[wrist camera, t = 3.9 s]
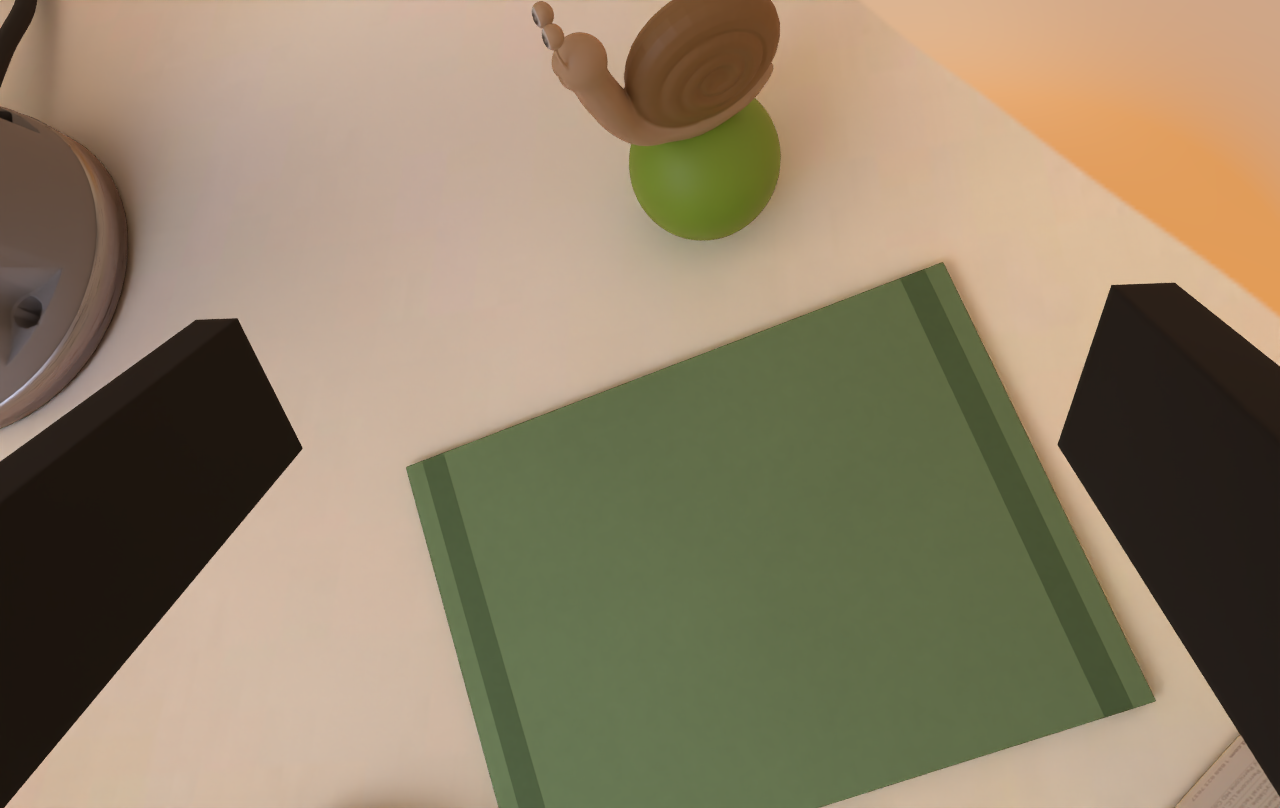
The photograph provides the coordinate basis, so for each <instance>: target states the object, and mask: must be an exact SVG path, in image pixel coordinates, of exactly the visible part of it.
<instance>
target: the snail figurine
mask: <svg viewBox="0 0 1280 808" xmlns="http://www.w3.org/2000/svg"><path fill="white" fill-rule="evenodd" d="M532 17H533V20H534V22H535V23H536V25H537V26H538V27H540V28H543V30H542V38H543V41H544V44H545V45H546V47H547V48H548V49H550V50H554V53H553V56H552V68H553V71H554V73H555V74H556V75H557V76H558V77H559V80H560V82H561V83H562V85H563V86H564V87H566V88H567V89H569V90H571V91H573V92H574V93H575V94H576V96H577V97H578V99H579V100H580V102H581V103H582V105H583V106H584V107H585V108H586V109H587V111H588V112H589V113H590V114H591V115H592V116H593V117H594V118H595V119H596V120H597V122H598V123H599V124H600V125H601V126H602V127H604V128H605V129H606V130H607V131H608V132H610V133H611V134H613V135H614V136H616V137H617V138H619V139H621V140H623V141H625V142H628V143H630V144H631V148H630V155H629V170H630V178H631V183H632V186H633V190H634V192H635V195H636V197H637V199H638V201H639V203H640V205H641V206H642V208H643V209H644V211H645V212H646V213H647V215H648V216H649V217H650V218H651V219H652V220H653V221H654V222H655V223H656V224H658V225H659V226H660V227H662V228H663V229H665V230H666V231H668V232H670V233H672V234H674V235H676V236H679V237H682V238H686V239H691V240H714V239H719V238H723V237H726V236H729V235H731V234H733V233H735V232H737V231H739V230H741V229H742V228H744V227H745V226H747V225H748V224H749V223H751V222H752V221H753V220H754V219H755V218H756V217H757V216H758V215H759V214H760V213H761V211H762V210H763V209H764V207H765V206H766V205H767V203H768V201H769V200H770V198H771V196H772V194H773V192H774V189H775V186H776V184H777V180H778V176H779V171H780V161H781V154H780V144H779V139H778V135H777V132H776V129H775V126H774V124H773V122H772V120H771V118H770V116H769V114H768V113H767V111H766V110H765V109H764V107H763V106H762V105H761V104H760V103H759V102H758V101H757V100H756V99H755V97H756V96H757V94H758V93H759V92H760V91H761V89H762V88H763V87H764V85H765V84H766V82H767V81H768V79H769V77H770V76H771V73H772V71H773V64H772V63H771V62H772V60H773V58H774V56H775V53H776V50H777V46H778V42H779V37H780V22H779V18H778V14H777V11H776V8H775V6H774V4H773V3H772V1H771V0H672V1H671V2H669V3H668V4H666V5H665V6H664V7H663V8H661V9H660V10H659V11H658V12H657V13H656V14H655V15H654V16H653V17H652V18H651V19H650V20H649V21H648V22H647V24H646V25H645V26H644V27H643V28H642V30H641V31H640V32H639V34H638V36H637V37H636V39H635V41H634V42H633V44H632V46H631V49H630V52H629V54H628V57H627V61H626V65H625V73H624V81H625V88H624V89H623V88H622V87H621V86H620V85H619V83H618V82H617V81H616V80H615V79H614V77H613V76H612V75H611V74H610V72H609V71H608V69H607V54H606V50H605V48H604V46H603V45H602V43H601V42H600V41H599V40H598V39H597V38H596V37H594V36H592V35H590V34H587V33H581V32H578V33H572V34H570V35H568V36H566V37H564V33H563V31H562V29H561V28H560V27H559V26H558V25H556V24H552V22H553V19H554V13H553V9H552V8H551V6H550V5H549V4H548V3H546V2H543V1H540V2H537V3H535V4H534V5H533V7H532Z"/></svg>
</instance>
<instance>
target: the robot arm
mask: <svg viewBox="0 0 1280 808" xmlns="http://www.w3.org/2000/svg"><path fill="white" fill-rule="evenodd" d="M36 5H37V0H15V3H14V5H13V7H12V10H11V11H10V13H9V15H8V17H7V18H6V20H5V22H4V23H3V25H2V27H1V28H0V87H1V84H2V82H3V79H4V76H5V74H6V71H7V68H8V66H9V63H10V61H11V58H12V56H13V53H14V51H15V49H16V47H17V45H18V44H19V42H20V40H21V38H22V37H23V35H24V33H25V32H26V30H27V28H28V26H29V24H30V23H31V20H32V18H33V16H34V13H35V9H36ZM127 254H128V234H127V224H126V217H125V212H124V208H123V204H122V201H121V198H120V195H119V192H118V190H117V188H116V186H115V184H114V182H113V180H112V178H111V176H110V175H109V173H108V171H107V170H106V168H105V167H104V166H103V165H102V163H101V162H100V161H99V160H98V159H97V158H96V157H95V156H94V155H93V154H92V153H91V152H90V151H89V150H88V149H87V148H85V147H84V146H82V145H81V144H79V143H78V142H76V141H75V140H73V139H71V138H69V137H68V136H66V135H64V134H62V133H60V132H59V131H57V130H55V129H53V128H52V127H50V126H48V125H46V124H44V123H42V122H40V121H39V120H37V119H34V118H32V117H29V116H26V115H24V114H21V113H18V112H16V111H13V110H10V109H7V108H4V107H0V428H2V427H5V426H8V425H10V424H12V423H14V422H16V421H18V420H20V419H22V418H24V417H25V416H27V415H29V414H31V413H32V412H34V411H35V410H37V409H38V408H40V407H41V406H43V405H44V404H45V403H47V402H48V401H49V400H50V399H52V398H53V397H54V396H55V395H56V394H58V393H59V392H60V391H61V390H62V389H63V388H64V387H65V386H66V385H67V384H68V383H69V382H70V381H71V380H72V379H73V378H74V377H75V375H76V374H77V373H78V372H79V371H80V370H81V368H82V367H83V366H84V365H85V363H86V362H87V360H88V359H89V358H90V356H91V355H92V354H93V352H94V350H95V349H96V347H97V346H98V344H99V342H100V341H101V339H102V337H103V335H104V333H105V331H106V329H107V327H108V325H109V323H110V321H111V319H112V316H113V314H114V312H115V309H116V307H117V303H118V300H119V297H120V294H121V291H122V286H123V282H124V278H125V272H126V265H127ZM1058 446H1059V448H1060V449H1061V451H1062V453H1063V454H1064V456H1065V457H1066V459H1067V461H1068V462H1069V464H1070V465H1071V467H1072V468H1073V470H1074V472H1075V473H1076V475H1077V476H1078V478H1079V480H1080V481H1081V483H1082V484H1083V486H1084V487H1085V489H1086V491H1087V492H1088V494H1089V495H1090V497H1091V499H1092V500H1093V502H1094V503H1095V505H1096V507H1097V508H1098V510H1099V511H1100V513H1101V514H1102V516H1103V518H1104V519H1105V521H1106V522H1107V524H1108V526H1109V527H1110V529H1111V530H1112V532H1113V533H1114V535H1115V537H1116V538H1117V540H1118V541H1119V543H1120V545H1121V546H1122V548H1123V549H1124V551H1125V553H1126V554H1127V556H1128V557H1129V559H1130V560H1131V562H1132V564H1133V565H1134V567H1135V568H1136V570H1137V572H1138V573H1139V575H1140V576H1141V578H1142V579H1143V581H1144V583H1145V584H1146V586H1147V587H1148V589H1149V591H1150V592H1151V594H1152V595H1153V597H1154V599H1155V600H1156V602H1157V603H1158V605H1159V606H1160V608H1161V610H1162V611H1163V613H1164V614H1165V616H1166V618H1167V619H1168V621H1169V622H1170V624H1171V625H1172V627H1173V629H1174V630H1175V632H1176V633H1177V635H1178V637H1179V638H1180V640H1181V641H1182V643H1183V645H1184V646H1185V648H1186V649H1187V651H1188V652H1189V654H1190V656H1191V657H1192V659H1193V660H1194V662H1195V664H1196V665H1197V667H1198V668H1199V670H1200V671H1201V673H1202V675H1203V676H1204V678H1205V679H1206V681H1207V683H1208V684H1209V686H1210V687H1211V689H1212V691H1213V692H1214V694H1215V695H1216V697H1217V698H1218V700H1219V702H1220V703H1221V705H1222V706H1223V708H1224V710H1225V711H1226V713H1227V714H1228V716H1229V717H1230V719H1231V721H1232V722H1233V724H1234V725H1235V727H1236V729H1237V730H1238V732H1239V733H1240V735H1241V737H1242V738H1243V740H1244V741H1245V743H1246V744H1247V746H1248V748H1249V749H1250V751H1251V752H1252V754H1253V756H1254V757H1255V759H1256V760H1257V762H1258V763H1259V765H1260V767H1261V768H1262V770H1263V771H1264V773H1265V775H1266V776H1267V778H1268V779H1269V781H1270V783H1271V784H1272V786H1273V787H1274V789H1275V790H1276V792H1277V794H1278V795H1279V797H1280V366H1278V365H1277V364H1276V363H1275V362H1273V361H1272V360H1271V359H1270V358H1268V357H1267V356H1266V355H1265V354H1263V353H1262V352H1261V351H1260V350H1258V349H1257V348H1256V347H1255V346H1253V345H1252V344H1251V343H1250V342H1248V341H1247V340H1246V339H1245V338H1243V337H1242V336H1241V335H1240V334H1238V333H1237V332H1236V331H1235V330H1233V329H1232V328H1231V327H1230V326H1228V325H1227V324H1226V323H1225V322H1223V321H1222V320H1221V319H1220V318H1218V317H1217V316H1216V315H1214V314H1213V313H1212V312H1211V311H1209V310H1208V309H1207V308H1206V307H1204V306H1203V305H1202V304H1201V303H1199V302H1198V301H1197V300H1196V299H1194V298H1193V297H1192V296H1191V295H1189V294H1188V293H1187V292H1186V291H1184V290H1183V289H1182V288H1181V287H1179V286H1178V285H1177V284H1176V283H1154V284H1128V285H1111V288H1110V291H1109V294H1108V297H1107V300H1106V303H1105V306H1104V309H1103V312H1102V315H1101V318H1100V321H1099V324H1098V327H1097V329H1096V332H1095V335H1094V338H1093V341H1092V344H1091V347H1090V350H1089V353H1088V356H1087V359H1086V362H1085V365H1084V368H1083V371H1082V374H1081V377H1080V380H1079V383H1078V386H1077V389H1076V392H1075V395H1074V398H1073V401H1072V404H1071V407H1070V410H1069V412H1068V415H1067V418H1066V421H1065V424H1064V427H1063V430H1062V433H1061V436H1060V439H1059V442H1058ZM302 449H303V448H302V446H301V444H300V442H299V440H298V438H297V436H296V434H295V432H294V430H293V428H292V426H291V424H290V422H289V420H288V418H287V416H286V414H285V412H284V410H283V408H282V406H281V404H280V402H279V400H278V398H277V396H276V394H275V392H274V390H273V388H272V386H271V384H270V382H269V380H268V378H267V376H266V374H265V372H264V370H263V368H262V366H261V364H260V362H259V361H258V359H257V357H256V355H255V353H254V351H253V349H252V347H251V345H250V343H249V341H248V339H247V337H246V335H245V333H244V331H243V329H242V327H241V325H240V323H239V321H238V319H237V318H234V319H208V320H195V321H194V322H192V323H191V324H190V325H188V326H187V327H186V328H184V329H183V330H181V331H180V332H179V333H177V334H176V335H175V336H173V337H172V338H170V339H169V340H168V341H166V342H165V343H163V344H162V345H161V346H159V347H158V348H157V349H155V350H154V351H152V352H151V353H150V354H148V355H147V356H146V357H144V358H143V359H141V360H140V361H139V362H137V363H136V364H134V365H133V366H132V367H130V368H129V369H128V370H126V371H125V372H123V373H122V374H121V375H119V376H118V377H117V378H115V379H114V380H112V381H111V382H110V383H108V384H107V385H105V386H104V387H103V388H101V389H100V390H99V391H97V392H96V393H94V394H93V395H92V396H90V397H89V398H88V399H86V400H85V401H83V402H82V403H81V404H79V405H78V406H77V407H75V408H74V409H72V410H71V411H70V412H68V413H67V414H65V415H64V416H63V417H61V418H60V419H59V420H57V421H56V422H54V423H53V424H52V425H50V426H49V427H48V428H46V429H45V430H43V431H42V432H41V433H39V434H38V435H36V436H35V437H34V438H32V439H31V440H30V441H28V442H27V443H25V444H24V445H23V446H21V447H20V448H19V449H17V450H16V451H14V452H13V453H12V454H10V455H9V456H7V457H6V458H5V459H3V460H2V461H1V462H0V808H4V807H5V806H6V805H7V803H8V802H9V801H10V800H11V799H12V797H13V796H14V795H15V794H16V793H17V791H18V790H19V789H20V788H21V787H22V785H23V784H24V783H25V782H26V781H27V779H28V778H29V777H30V776H31V775H32V773H33V772H34V771H35V770H36V769H37V767H38V766H39V765H40V764H41V763H42V761H43V760H44V759H45V758H46V757H47V755H48V754H49V753H50V752H51V751H52V749H53V748H54V747H55V746H56V745H57V743H58V742H59V741H60V740H61V739H62V737H63V736H64V735H65V734H66V733H67V731H68V730H69V729H70V728H71V727H72V725H73V724H74V723H75V722H76V721H77V719H78V718H79V717H80V716H81V714H82V713H83V712H84V711H85V710H86V708H87V707H88V706H89V705H90V704H91V702H92V701H93V700H94V699H95V698H96V696H97V695H98V694H99V693H100V692H101V690H102V689H103V688H104V687H105V686H106V684H107V683H108V682H109V681H110V680H111V678H112V677H113V676H114V675H115V674H116V672H117V671H118V670H119V669H120V668H121V666H122V665H123V664H124V663H125V662H126V660H127V659H128V658H129V657H130V656H131V654H132V653H133V652H134V651H135V650H136V648H137V647H138V646H139V645H140V644H141V642H142V641H143V640H144V639H145V638H146V636H147V635H148V634H149V633H150V632H151V630H152V629H153V628H154V627H155V626H156V624H157V623H158V622H159V621H160V620H161V618H162V617H163V616H164V615H165V614H166V612H167V611H168V610H169V609H170V607H171V606H172V605H173V604H174V603H175V601H176V600H177V599H178V598H179V597H180V595H181V594H182V593H183V592H184V591H185V589H186V588H187V587H188V586H189V585H190V583H191V582H192V581H193V580H194V579H195V577H196V576H197V575H198V574H199V573H200V571H201V570H202V569H203V568H204V567H205V565H206V564H207V563H208V562H209V561H210V559H211V558H212V557H213V556H214V555H215V553H216V552H217V551H218V550H219V549H220V547H221V546H222V545H223V544H224V543H225V541H226V540H227V539H228V538H229V537H230V535H231V534H232V533H233V532H234V531H235V529H236V528H237V527H238V526H239V525H240V523H241V522H242V521H243V520H244V519H245V517H246V516H247V515H248V514H249V513H250V511H251V510H252V509H253V508H254V507H255V505H256V504H257V503H258V502H259V500H260V499H261V498H262V497H263V496H264V494H265V493H266V492H267V491H268V490H269V488H270V487H271V486H272V485H273V484H274V482H275V481H276V480H277V479H278V478H279V476H280V475H281V474H282V473H283V472H284V470H285V469H286V468H287V467H288V466H289V464H290V463H291V462H292V461H293V460H294V458H295V457H296V456H297V455H298V454H299V452H300V451H301V450H302Z"/></svg>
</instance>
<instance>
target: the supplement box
mask: <svg viewBox="0 0 1280 808" xmlns="http://www.w3.org/2000/svg"><path fill="white" fill-rule="evenodd" d="M1175 808H1280V797H1279V795H1278V794H1277V792H1276V790H1275V789H1274V787H1273V786H1272V784H1271V783H1270V781H1269V779H1268V778H1267V776H1266V775H1265V773H1264V771H1263V770H1262V768H1261V767H1260V765H1259V763H1258V762H1257V760H1256V759H1255V757H1254V756H1253V754H1252V752H1251V751H1250V749H1249V748H1248V746H1247V744H1246V743H1245V741H1244V740H1243V738H1242V737H1241V735H1239V736H1238V737H1237V739H1236V740H1235V741H1234V742H1233V743H1232V744H1231V745H1230V746H1229V747H1228V748H1227V749H1226V751H1225V752H1224V753H1223V754H1222V755H1221V756H1220V757H1219V758H1218V759H1217V761H1216V762H1215V763H1214V764H1213V765H1212V766H1211V767H1210V768H1209V769H1208V771H1207V772H1206V773H1205V774H1204V775H1203V776H1202V777H1201V778H1200V779H1199V781H1198V782H1197V783H1196V784H1195V785H1194V786H1193V787H1192V788H1191V789H1190V791H1189V792H1188V793H1187V794H1186V795H1185V796H1184V797H1183V799H1182V800H1181V801H1180V802H1179V803H1178V804H1177V805H1176V807H1175Z"/></svg>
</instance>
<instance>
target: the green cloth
mask: <svg viewBox="0 0 1280 808" xmlns="http://www.w3.org/2000/svg"><path fill="white" fill-rule="evenodd" d="M406 469H407V473H408V477H409V480H410V484H411V488H412V491H413V495H414V499H415V502H416V506H417V510H418V513H419V517H420V521H421V524H422V528H423V532H424V535H425V539H426V543H427V547H428V550H429V554H430V558H431V561H432V565H433V569H434V572H435V576H436V580H437V583H438V587H439V591H440V594H441V598H442V602H443V605H444V609H445V613H446V616H447V620H448V624H449V627H450V631H451V635H452V638H453V642H454V646H455V649H456V653H457V657H458V660H459V664H460V668H461V671H462V675H463V679H464V682H465V686H466V690H467V693H468V697H469V701H470V704H471V708H472V712H473V715H474V719H475V723H476V726H477V730H478V734H479V737H480V741H481V745H482V748H483V752H484V756H485V759H486V763H487V767H488V770H489V774H490V778H491V781H492V785H493V789H494V792H495V796H496V800H497V803H498V807H499V808H819V807H822V806H826V805H829V804H832V803H835V802H838V801H841V800H845V799H848V798H851V797H854V796H857V795H860V794H864V793H867V792H870V791H873V790H876V789H879V788H883V787H886V786H889V785H892V784H895V783H898V782H902V781H905V780H908V779H911V778H914V777H917V776H921V775H924V774H927V773H930V772H933V771H936V770H940V769H943V768H946V767H949V766H952V765H956V764H959V763H962V762H965V761H968V760H971V759H975V758H978V757H981V756H984V755H987V754H990V753H994V752H997V751H1000V750H1003V749H1006V748H1009V747H1013V746H1016V745H1019V744H1022V743H1025V742H1028V741H1032V740H1035V739H1038V738H1041V737H1044V736H1047V735H1051V734H1054V733H1057V732H1060V731H1063V730H1066V729H1070V728H1073V727H1076V726H1079V725H1082V724H1085V723H1089V722H1092V721H1095V720H1098V719H1101V718H1104V717H1108V716H1111V715H1114V714H1117V713H1121V712H1124V711H1127V710H1130V709H1133V708H1136V707H1139V706H1142V705H1146V704H1149V703H1152V702H1155V701H1156V700H1155V698H1154V696H1153V694H1152V692H1151V690H1150V688H1149V686H1148V683H1147V681H1146V679H1145V677H1144V675H1143V673H1142V671H1141V669H1140V667H1139V665H1138V663H1137V661H1136V659H1135V657H1134V655H1133V653H1132V650H1131V648H1130V646H1129V644H1128V642H1127V640H1126V638H1125V636H1124V634H1123V632H1122V630H1121V628H1120V626H1119V624H1118V622H1117V620H1116V618H1115V615H1114V613H1113V611H1112V609H1111V607H1110V605H1109V603H1108V601H1107V599H1106V597H1105V595H1104V593H1103V591H1102V589H1101V587H1100V585H1099V582H1098V580H1097V578H1096V576H1095V574H1094V572H1093V570H1092V568H1091V566H1090V564H1089V562H1088V560H1087V558H1086V556H1085V554H1084V552H1083V549H1082V547H1081V545H1080V543H1079V541H1078V539H1077V537H1076V535H1075V533H1074V531H1073V529H1072V527H1071V525H1070V523H1069V521H1068V519H1067V517H1066V514H1065V512H1064V510H1063V508H1062V506H1061V504H1060V502H1059V500H1058V498H1057V496H1056V494H1055V492H1054V490H1053V488H1052V486H1051V484H1050V481H1049V479H1048V477H1047V475H1046V473H1045V471H1044V469H1043V467H1042V465H1041V463H1040V461H1039V459H1038V457H1037V455H1036V453H1035V451H1034V448H1033V446H1032V444H1031V442H1030V440H1029V438H1028V436H1027V434H1026V432H1025V430H1024V428H1023V426H1022V424H1021V422H1020V420H1019V418H1018V416H1017V413H1016V411H1015V409H1014V407H1013V405H1012V403H1011V401H1010V399H1009V397H1008V395H1007V393H1006V391H1005V389H1004V387H1003V385H1002V383H1001V380H1000V378H999V376H998V374H997V372H996V370H995V368H994V366H993V364H992V362H991V360H990V358H989V356H988V354H987V352H986V350H985V347H984V345H983V343H982V341H981V339H980V337H979V335H978V333H977V331H976V329H975V327H974V325H973V323H972V321H971V319H970V317H969V315H968V312H967V310H966V308H965V306H964V304H963V302H962V300H961V298H960V296H959V294H958V292H957V290H956V288H955V286H954V284H953V282H952V279H951V277H950V275H949V273H948V271H947V269H946V267H945V265H944V263H943V262H942V263H939V264H936V265H934V266H931V267H929V268H926V269H923V270H921V271H918V272H915V273H913V274H910V275H908V276H905V277H902V278H900V279H897V280H895V281H892V282H889V283H887V284H884V285H881V286H879V287H876V288H874V289H871V290H868V291H866V292H863V293H861V294H858V295H855V296H853V297H850V298H847V299H845V300H842V301H840V302H837V303H834V304H832V305H829V306H827V307H824V308H821V309H819V310H816V311H813V312H811V313H808V314H806V315H803V316H800V317H798V318H795V319H792V320H790V321H787V322H785V323H782V324H779V325H777V326H774V327H772V328H769V329H766V330H764V331H761V332H758V333H756V334H753V335H751V336H748V337H745V338H743V339H740V340H738V341H735V342H732V343H730V344H727V345H724V346H722V347H719V348H717V349H714V350H711V351H709V352H706V353H704V354H701V355H698V356H696V357H693V358H690V359H688V360H685V361H683V362H680V363H677V364H675V365H672V366H669V367H667V368H664V369H662V370H659V371H656V372H654V373H651V374H649V375H646V376H643V377H641V378H638V379H635V380H633V381H630V382H628V383H625V384H622V385H620V386H617V387H615V388H612V389H609V390H607V391H604V392H601V393H599V394H596V395H594V396H591V397H588V398H586V399H583V400H581V401H578V402H575V403H573V404H570V405H567V406H565V407H562V408H560V409H557V410H554V411H552V412H549V413H546V414H544V415H541V416H539V417H536V418H533V419H531V420H528V421H526V422H523V423H520V424H518V425H515V426H512V427H510V428H507V429H505V430H502V431H499V432H497V433H494V434H492V435H489V436H486V437H484V438H481V439H478V440H476V441H473V442H471V443H468V444H465V445H463V446H460V447H458V448H455V449H452V450H450V451H447V452H444V453H442V454H439V455H436V456H434V457H431V458H429V459H426V460H423V461H421V462H418V463H416V464H413V465H410V466H408V467H406Z"/></svg>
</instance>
